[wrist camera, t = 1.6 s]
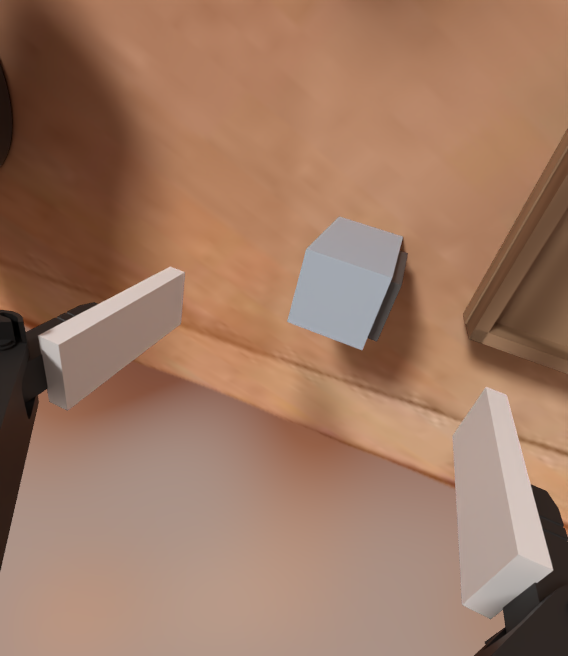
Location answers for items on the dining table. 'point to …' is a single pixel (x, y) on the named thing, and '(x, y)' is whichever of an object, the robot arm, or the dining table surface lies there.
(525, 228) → the rail
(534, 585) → the robot arm
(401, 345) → the dining table surface
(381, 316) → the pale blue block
